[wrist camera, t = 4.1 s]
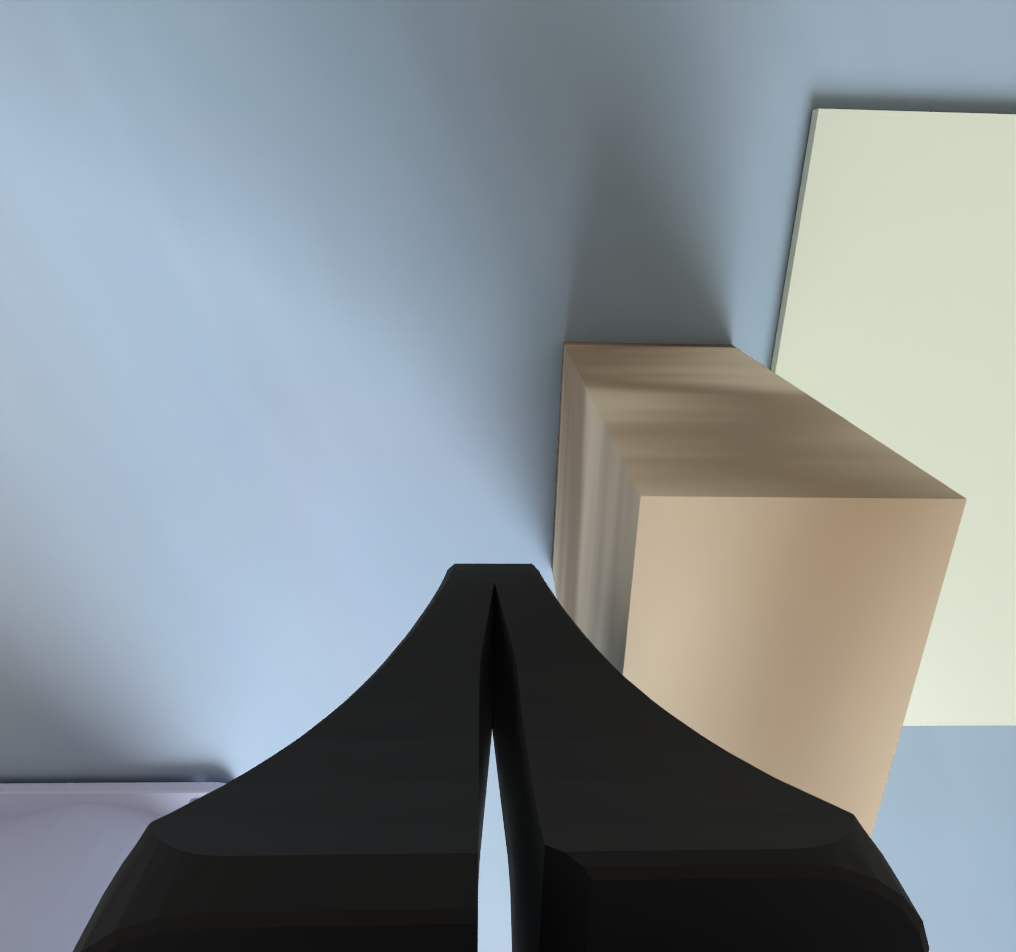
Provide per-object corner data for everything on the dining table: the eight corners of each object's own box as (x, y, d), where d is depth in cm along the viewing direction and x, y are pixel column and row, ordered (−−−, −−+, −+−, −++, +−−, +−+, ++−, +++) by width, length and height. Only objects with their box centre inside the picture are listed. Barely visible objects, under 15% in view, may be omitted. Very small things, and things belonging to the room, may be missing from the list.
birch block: (551, 567, 19) (604, 862, 11) (563, 341, 17) (640, 496, 9) (700, 568, 19) (864, 858, 11) (731, 344, 17) (966, 499, 9)
